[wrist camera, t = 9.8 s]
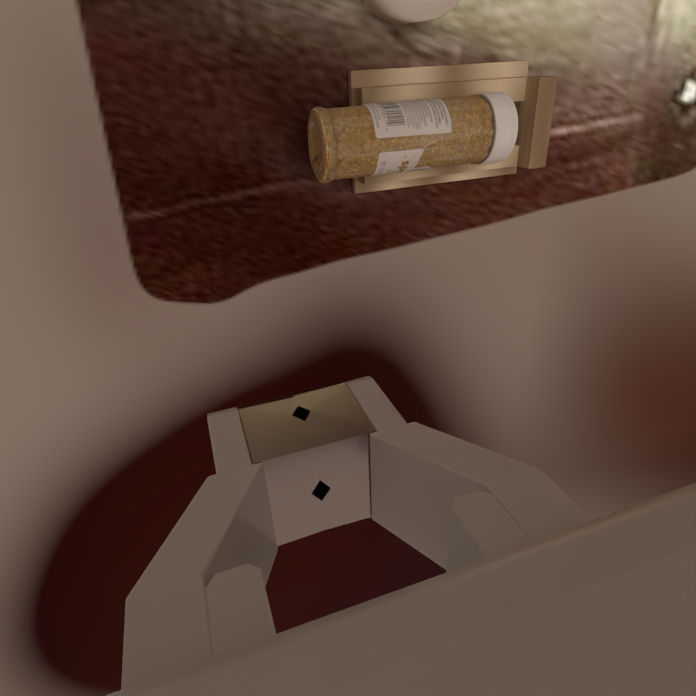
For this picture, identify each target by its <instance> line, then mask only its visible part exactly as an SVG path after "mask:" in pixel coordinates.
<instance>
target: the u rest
mask: <svg viewBox="0 0 696 696" xmlns="http://www.w3.org/2000/svg"><path fill="white" fill-rule="evenodd" d="M528 65H529V61H514V62H496V63H479V64H461V65H444V66H426V67H408V68H391V69H373V70H356V71H348V87H349V106H360V105H362V104H370V103H382V102H393V101H404V100H417V99H430V98H438V99H443V98H456V97H469V96H471V95H475V94H477V93H482V92H504V93H506V94H507V95H509V96H510V98H511V99H512V100H513V102H514V104H515V107H516V110H517V114H518V133H517V138H516V142H515V145H514V147H513V149H512V151H511V153H510V154H509V156H508V157H507V158H506V159H504V160H503V161H501V162H498V163H492V164H485V165H475V164H471V163H465V164H457V165H450V166H442V167H434V168H431V169H424V170H416V171H407V172H399V173H392V174H385V175H378V176H362V177H355V178H352V184H353V193H355V194H357V193H365V192H373V191H381V190H389V189H397V188H405V187H412V186H420V185H428V184H436V183H444V182H452V181H460V180H468V179H476V178H483V177H491V176H499V175H507V174H515V173H516V170H517V166H519V167H523V168H527V169H532V168H540V167H545V165H546V158H547V151H548V144H549V137H550V130H551V123H552V115H553V108H554V101H555V94H556V87H557V80H558V76H527V74H528Z"/></svg>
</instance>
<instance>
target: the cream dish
mask: <svg viewBox="0 0 696 696" xmlns="http://www.w3.org/2000/svg"><path fill="white" fill-rule="evenodd" d="M362 1H363V3H364V4H365V6H366V7H367V8H368V9H369V10H370V11H371V12H372V13H373V14H374V15H375V16H377V17H378V18H380V19H381V20H383V21H385V22H388V23H392V24H399V25H400V24H409V23H415V22H421V21H427V20H432V19H436V18H439V17H441V16H443V15H445V14H446V13H448V12H449V11H451V10H452V9H453V8H454V7H455V6H456V5H457V4H458V3H459V2H460V1H461V0H362Z"/></svg>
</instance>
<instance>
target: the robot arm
mask: <svg viewBox="0 0 696 696" xmlns="http://www.w3.org/2000/svg"><path fill="white" fill-rule="evenodd" d="M207 420H208V426H209V432H210V437H211V444H212V449H213V455H214V461H215V466H216V473H217V474H216V475H212V476H209V477H207V479H206V480H205V482H204V483H203V485H202V486H201V488H200V489H199V491H198V492H197V494H196V496H195V497H194V498H193V500H192V501H191V503H190V504H189V506H188V507H187V509H186V510H185V512H184V513H183V515H182V516H181V518H180V519H179V521H178V522H177V524H176V525H175V527H174V528H173V530H172V531H171V533H170V534H169V536H168V537H167V539H166V540H165V542H164V543H163V544H162V546H161V548H160V549H159V551H158V552H157V553H156V555H155V556H154V558H153V560H152V561H151V563H150V564H149V565H148V567H147V568H146V570H145V571H144V573H143V574H142V576H141V577H140V579H139V580H138V582H137V583H136V585H135V586H134V588H133V589H132V591H131V592H130V594H129V595H128V597H127V598H126V608H125V629H124V648H123V667H122V688H121V690H120V691H118V692H114V693H112V694H109V695H106V696H696V483H695V484H692V485H689V486H687V487H684V488H681V489H678V490H675V491H672V492H669V493H667V494H664V495H661V496H658V497H655V498H653V499H650V500H647V501H644V502H642V503H639V504H636V505H633V506H631V507H628V508H625V509H622V510H620V511H617V512H614V513H611V514H608V515H606V516H603V517H600V518H597V519H595V520H592V521H591V520H590V519H589V518H588V517H587V516H586V515H585V514H584V513H583V512H582V511H581V510H580V509H579V508H578V507H577V506H576V505H575V504H574V503H573V502H572V501H571V500H570V499H569V498H568V497H567V496H566V495H565V494H564V493H563V492H562V491H561V490H560V489H559V488H558V487H557V486H556V485H555V484H554V483H553V482H552V481H551V480H550V479H549V477H548V476H547V475H545V473H543V472H542V470H540V469H538V468H535V467H533V466H530V465H528V464H525V463H522V462H520V461H517V460H514V459H511V458H509V457H506V456H504V455H501V454H498V453H496V452H493V451H490V450H488V449H485V448H482V447H480V446H477V445H474V444H472V443H469V442H467V441H464V440H461V439H459V438H456V437H453V436H451V435H448V434H445V433H442V432H440V431H437V430H434V429H432V428H429V427H427V426H424V425H421V424H419V423H416V422H412V423H408V424H407V423H406V422H405V420H404V419H403V418H402V416H401V415H400V414H399V412H398V411H397V410H396V409H395V407H394V406H393V405H392V403H391V402H390V401H389V399H388V398H387V397H386V395H385V394H384V393H383V391H382V390H381V389H380V388H379V386H378V385H377V383H376V382H375V381H374V380H373V378H371V377H369V376H367V377H363V378H359V379H355V380H352V381H348V382H344V383H342V384H338V385H334V386H330V387H326V388H322V389H318V390H315V391H310V392H306V393H303V394H298V395H294V396H292V395H291V396H287V397H282V398H277V399H273V400H268V401H263V402H258V403H253V404H249V405H244V406H239V407H237V408H236V407H235V408H230V409H226V410H222V411H217V412H213V413H209V414H208V416H207ZM369 517H372V519H373V520H374V521H376V522H377V523H379V524H380V525H382V526H383V527H384V528H386V529H387V530H389V531H391V532H392V533H393V534H395V535H396V536H398V537H399V538H401V539H402V540H403V541H405V542H407V543H408V544H409V545H411V546H412V547H414V548H415V549H417V550H418V551H419V552H421V553H423V554H424V555H425V556H427V557H428V558H430V559H431V560H433V561H434V562H435V563H437V564H438V565H440V566H441V567H443V568H444V569H446V570H447V572H446V573H445V574H442V575H439V576H436V577H433V578H431V579H428V580H425V581H422V582H420V583H417V584H414V585H411V586H408V587H406V588H403V589H400V590H397V591H395V592H392V593H389V594H386V595H383V596H381V597H378V598H375V599H372V600H370V601H367V602H364V603H361V604H359V605H356V606H353V607H350V608H347V609H345V610H342V611H339V612H336V613H334V614H331V615H328V616H325V617H322V618H320V619H317V620H314V621H311V622H309V623H306V624H303V625H301V626H297V627H295V628H292V629H289V630H286V631H284V632H281V633H278V634H276V632H275V628H274V624H273V619H272V615H271V611H270V607H269V603H268V599H267V594H266V590H265V586H266V583H267V580H268V577H269V574H270V570H271V568H272V564H273V562H274V559H275V556H276V553H277V549H278V548H277V546H279V545H282V544H285V543H288V542H291V541H294V540H297V539H300V538H303V537H305V536H308V535H311V534H314V533H317V532H320V531H323V530H326V529H330V528H333V527H337V526H341V525H344V524H348V523H351V522H355V521H358V520H361V519H365V518H369Z"/></svg>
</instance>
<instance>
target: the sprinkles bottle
mask: <svg viewBox="0 0 696 696" xmlns="http://www.w3.org/2000/svg"><path fill="white" fill-rule="evenodd" d="M517 133H518V114H517V110H516V107H515V104H514V102H513V100H512V99H511V98H510V96H509V95H507V94H506V93H504V92H482V93H477V94H475V95H471V96H469V97H456V98H443V99H438V98H430V99H417V100H404V101H393V102H382V103H370V104H362V105H360V106H349V107H341V108H322V107H315V108H313V109H312V111H311V113H310V115H309V119H308V145H309V157H310V162H311V166H312V169H313V171H314V174H315V176H316V178H317V179H318V180H319V181H320V182H321V183H329V182H331V181H332V180H339V179H346V178H355V177H362V176H378V175H385V174H392V173H399V172H407V171H416V170H424V169H431V168H434V167H442V166H450V165H457V164H465V163H471V164H475V165H485V164H492V163H498V162H501V161H503V160H504V159H506V158H507V157H508V156H509V154H510V153H511V151H512V149H513V147H514V145H515V142H516V138H517Z"/></svg>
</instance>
